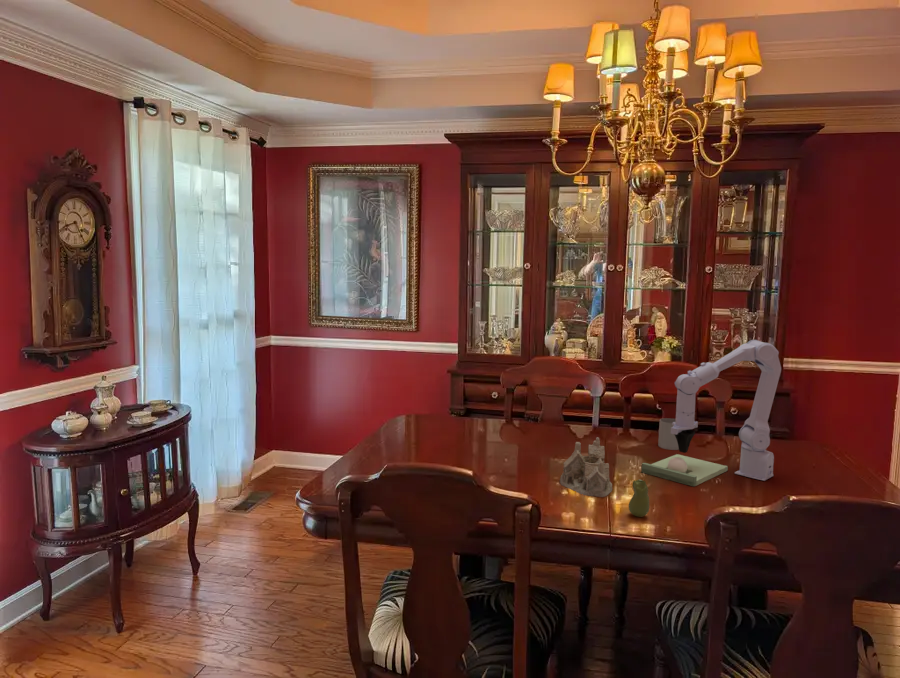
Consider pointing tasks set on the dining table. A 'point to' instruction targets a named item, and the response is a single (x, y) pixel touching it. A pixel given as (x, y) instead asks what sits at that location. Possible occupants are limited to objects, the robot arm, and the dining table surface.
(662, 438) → the cup
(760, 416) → the robot arm
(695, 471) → the putting mat
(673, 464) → the golf ball
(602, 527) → the dining table surface
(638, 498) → the pear
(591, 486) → the ceramic cottage
